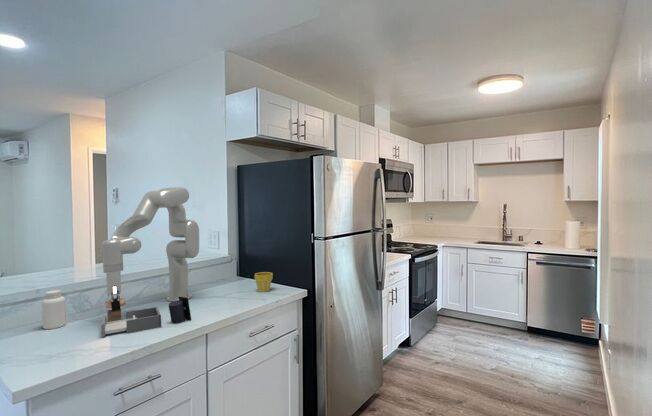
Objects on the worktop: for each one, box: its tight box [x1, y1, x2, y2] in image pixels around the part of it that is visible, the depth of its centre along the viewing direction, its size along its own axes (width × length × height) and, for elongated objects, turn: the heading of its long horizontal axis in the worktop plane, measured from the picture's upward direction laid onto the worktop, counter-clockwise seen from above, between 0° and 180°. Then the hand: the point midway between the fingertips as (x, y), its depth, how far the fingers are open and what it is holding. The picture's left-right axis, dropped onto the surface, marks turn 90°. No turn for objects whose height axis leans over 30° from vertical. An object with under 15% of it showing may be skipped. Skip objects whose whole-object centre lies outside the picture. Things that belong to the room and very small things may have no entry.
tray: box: [101, 314, 137, 338], centre depth 145 cm, size 13×14×5 cm
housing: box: [125, 306, 162, 334], centre depth 149 cm, size 12×15×5 cm
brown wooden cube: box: [107, 307, 122, 322], centre depth 155 cm, size 5×5×5 cm
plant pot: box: [254, 271, 274, 293], centre depth 204 cm, size 10×10×10 cm
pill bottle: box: [41, 289, 67, 330], centre depth 151 cm, size 8×8×15 cm
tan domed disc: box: [105, 297, 127, 309], centre depth 155 cm, size 8×8×2 cm
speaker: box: [168, 297, 192, 324], centre depth 153 cm, size 8×6×10 cm
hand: (116, 307), depth 155 cm, fingers closed on tan domed disc, 7 cm apart
